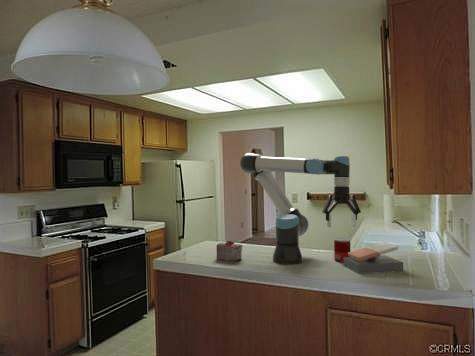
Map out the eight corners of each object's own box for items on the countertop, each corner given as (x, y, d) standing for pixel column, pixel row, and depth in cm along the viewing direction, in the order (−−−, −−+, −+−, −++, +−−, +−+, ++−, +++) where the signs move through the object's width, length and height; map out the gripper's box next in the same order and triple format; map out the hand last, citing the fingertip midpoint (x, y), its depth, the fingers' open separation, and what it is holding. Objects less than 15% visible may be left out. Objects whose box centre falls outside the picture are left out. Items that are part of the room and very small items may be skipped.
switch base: (358, 273, 145) (358, 260, 145) (343, 265, 159) (343, 253, 159) (403, 271, 149) (403, 257, 149) (384, 263, 162) (384, 251, 162)
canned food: (351, 262, 164) (351, 241, 164) (334, 262, 166) (334, 240, 166) (349, 259, 171) (349, 238, 171) (333, 258, 173) (333, 237, 173)
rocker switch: (359, 262, 147) (358, 257, 147) (348, 257, 157) (347, 252, 157) (398, 251, 150) (397, 246, 150) (385, 246, 160) (384, 242, 160)
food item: (244, 259, 174) (244, 240, 174) (238, 262, 166) (238, 243, 166) (220, 257, 179) (220, 239, 179) (214, 260, 171) (214, 241, 171)
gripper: (322, 186, 163) (321, 228, 163) (367, 186, 167) (367, 227, 167) (316, 185, 170) (315, 226, 170) (360, 185, 174) (359, 225, 174)
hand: (341, 226), depth 169 cm, fingers open, 13 cm apart
